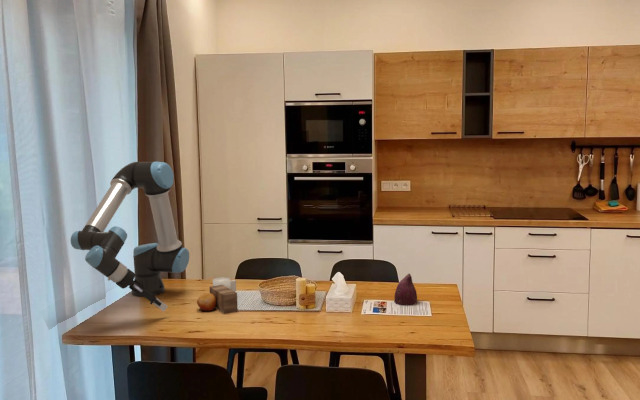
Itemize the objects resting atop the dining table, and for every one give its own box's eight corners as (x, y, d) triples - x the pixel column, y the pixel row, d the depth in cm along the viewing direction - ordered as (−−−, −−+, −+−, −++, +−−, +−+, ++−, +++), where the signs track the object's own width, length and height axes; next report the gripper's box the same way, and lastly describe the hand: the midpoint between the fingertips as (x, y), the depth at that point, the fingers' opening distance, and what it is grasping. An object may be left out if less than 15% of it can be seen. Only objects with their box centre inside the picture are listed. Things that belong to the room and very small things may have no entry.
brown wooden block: (210, 304, 260) (209, 286, 259) (222, 302, 263) (222, 284, 262) (224, 313, 247) (223, 295, 246) (237, 311, 250) (236, 292, 249)
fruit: (221, 303, 257) (216, 290, 252) (215, 317, 251) (210, 304, 246) (205, 301, 259) (199, 289, 254) (198, 315, 253) (192, 303, 248)
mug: (210, 297, 270) (209, 278, 269) (232, 294, 276) (231, 275, 275) (217, 302, 263) (216, 282, 262) (239, 298, 269) (238, 278, 268)
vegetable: (420, 310, 256) (428, 279, 251) (399, 310, 252) (407, 279, 247) (408, 298, 265) (417, 268, 260) (388, 298, 261) (396, 268, 256)
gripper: (111, 279, 236) (154, 311, 247) (118, 286, 225) (164, 320, 236) (123, 264, 238) (166, 297, 249) (132, 271, 227) (176, 305, 238)
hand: (165, 308), depth 243 cm, fingers closed
